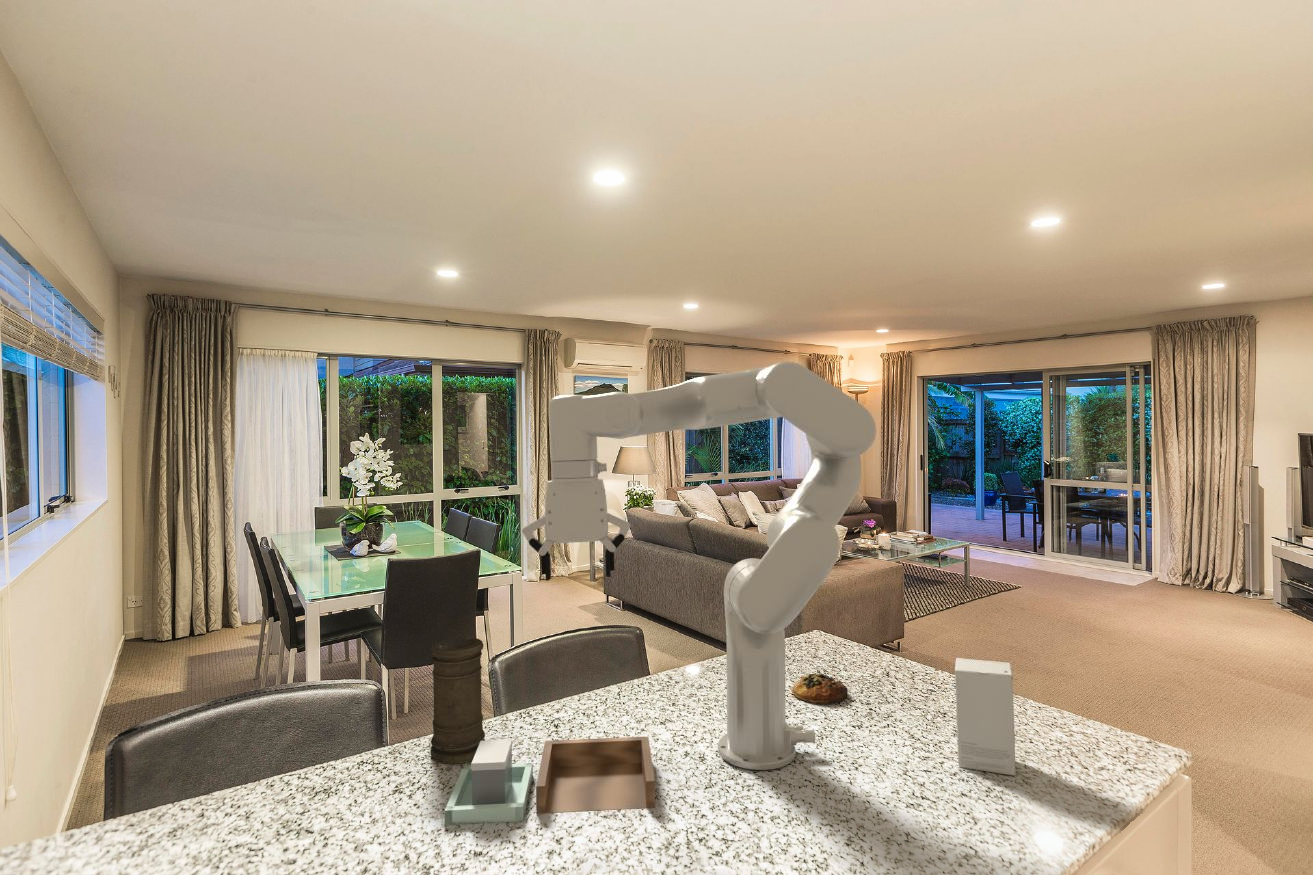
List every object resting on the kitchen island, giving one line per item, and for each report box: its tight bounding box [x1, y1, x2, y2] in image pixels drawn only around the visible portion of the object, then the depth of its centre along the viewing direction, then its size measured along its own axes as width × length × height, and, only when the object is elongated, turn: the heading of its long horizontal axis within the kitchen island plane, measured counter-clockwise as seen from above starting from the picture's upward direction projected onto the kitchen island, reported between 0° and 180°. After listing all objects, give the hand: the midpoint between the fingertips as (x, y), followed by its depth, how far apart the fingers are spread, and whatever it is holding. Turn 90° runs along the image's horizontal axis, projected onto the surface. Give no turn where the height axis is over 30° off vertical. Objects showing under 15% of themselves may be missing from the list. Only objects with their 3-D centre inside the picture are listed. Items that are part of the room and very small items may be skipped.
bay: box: [535, 736, 656, 815], centre depth 102 cm, size 16×14×4 cm
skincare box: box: [954, 657, 1017, 776], centre depth 108 cm, size 8×7×16 cm
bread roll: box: [791, 672, 849, 705], centre depth 138 cm, size 11×11×5 cm
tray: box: [444, 762, 534, 827], centre depth 99 cm, size 10×12×2 cm
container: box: [429, 636, 486, 765], centre depth 114 cm, size 9×9×18 cm
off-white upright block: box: [470, 739, 513, 805], centre depth 99 cm, size 5×7×6 cm, turn 4°
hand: (578, 577), depth 111 cm, fingers open, 9 cm apart
